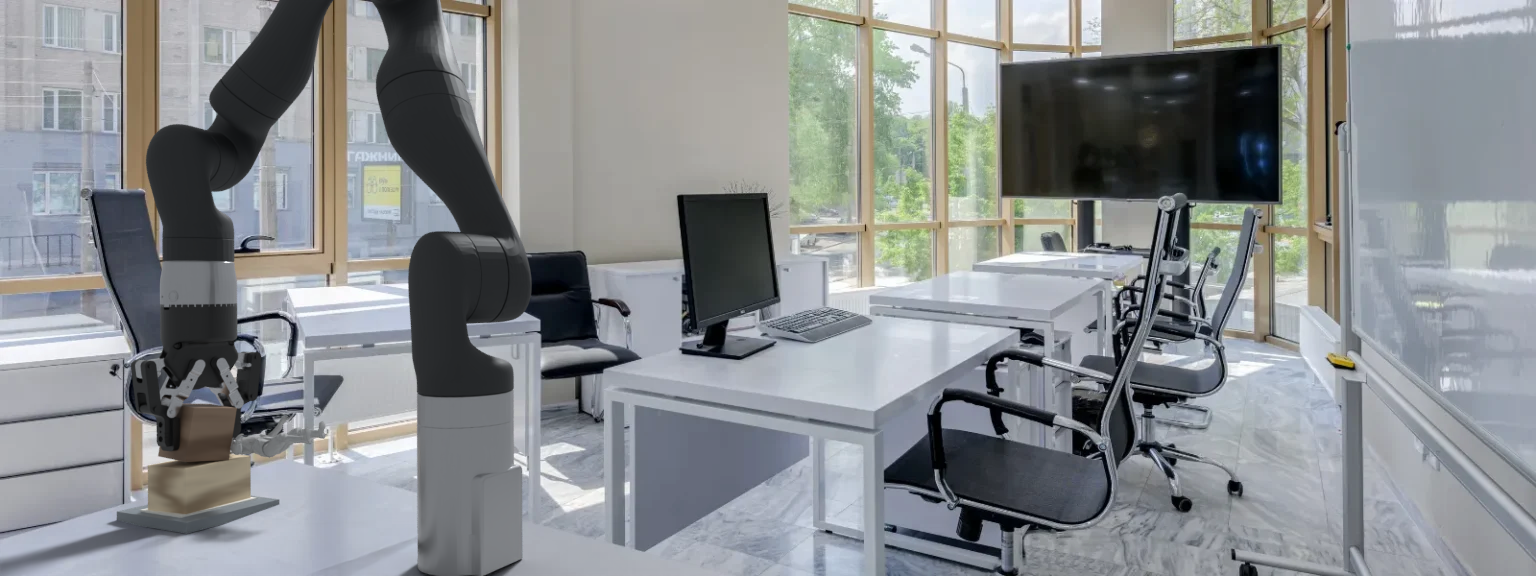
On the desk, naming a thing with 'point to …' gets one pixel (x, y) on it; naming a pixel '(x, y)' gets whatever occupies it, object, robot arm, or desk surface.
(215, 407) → the walnut cube
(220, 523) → the board
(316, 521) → the desk surface
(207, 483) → the maple block
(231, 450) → the soldier figure
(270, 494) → the desk surface
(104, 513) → the desk surface
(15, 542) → the desk surface
